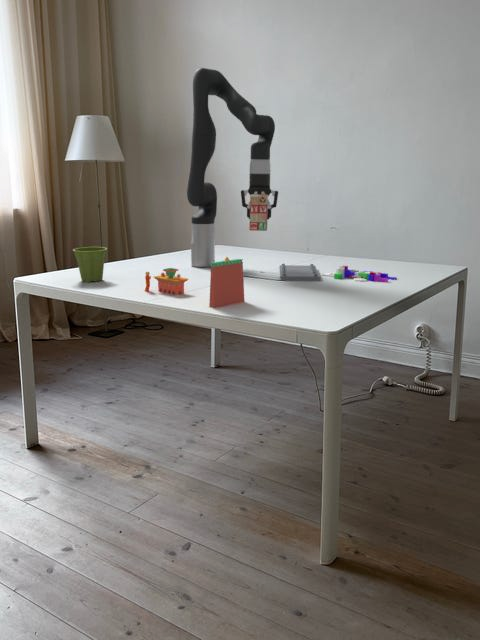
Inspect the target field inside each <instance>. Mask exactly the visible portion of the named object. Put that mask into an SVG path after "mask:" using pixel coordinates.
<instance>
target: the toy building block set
mask: <svg viewBox="0 0 480 640" xmlns="http://www.w3.org/2000/svg"><path fill="white" fill-rule="evenodd" d="M243 260H244V259H243V258H235V259H230V258H229V257H228V256H226V258H224V260H219V261H215V262H212V265H211V267H210V285H209V305H208V306H209V308H211V307H213V309H216V307H217V308H221V306H222V307H227V306H231V305H234V304H235V305H236V304H241V303H245V301H246V300H245V287H244V285H245V283H244V265H243V264H244V262H243ZM178 271H179V268H173V267H169V268H164V269H162V272H161V273H160V275H156V276H153V278H154V279H155V280H156V281H157V289H158V292H162V293H167V294H170V295H175V296H177V295H178V296H179V294H180V295H183V294H185V283H186V282H188V280H189V278H187V277H182V276H181V274H180V273H177V272H178ZM164 272H165V273H164ZM144 277H145V289H144V292H150V286H151V281H150V280H152V276H151V274H150V271H145V276H144ZM226 305H227V306H226Z"/></svg>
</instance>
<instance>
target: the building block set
mask: <svg viewBox="0 0 480 640" xmlns="http://www.w3.org/2000/svg"><path fill="white" fill-rule="evenodd" d="M321 277H329V278H333V279H334V280H340V279H353V280H354V281H355V282H359V283H361V282H367V281H369V282H379V283H388V282H389V279H391V280H390V281H395V280H397V278H398V277H396V276H395V277H394V276H389V273H385V272H379V271H377V272H376V271H368V270H366V271H365V270H364V271H359V270H356V269H349V266H348V265H341V266H339V267H338V268H336V273H335V272H325V273H322V274H321ZM394 279H395V280H394Z"/></svg>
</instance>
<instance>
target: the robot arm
mask: <svg viewBox="0 0 480 640" xmlns="http://www.w3.org/2000/svg"><path fill="white" fill-rule="evenodd" d="M209 96H215V97H218V98H219V99H221V100H223V101H224V103H225V104H226V108H227V109H228V111H229V112H230V113H231V115H233V117H235V118H236V120H237V119H238V120H239V122H240V123H241V124H242V126H243V127H244V129H245V130H246V132H248V134H251V135H252V136H253V135H254V136H258V139H257V141H256V142H253V143H252V144H251V146H250V162H249V185H248V186H249V187H248V189H246V190H245V189H244V190H243V189H242V190H241V191H240V196H241V206H242V207H243V208H245V209H246V217H247V218H248V220H250V201H249V202H248V204H247V203H246V196H247V195H248V194H249V196H250V195H251V194H261V195H268V197H269V196H270V195H271V194H272V197H274V198H273V203H272V204H271V202H270V201H269V199H268V212H267V220H270V218H272V209H273V208H276V207H277V204H278V197H279V191H278V190H274V189H273V190H272V189H271V146H272V143H273V140H274V135H275V129H276V123H275V121H274V118H273V117H272V116H270V115H267V114H266V115H264V114H257V109H256V107H255V106H254V105H253V104H252V103H251V102H249V101H248V100H247V99H245V97H243V96H242V95H241V94H240V93H239V92H238V91H236V89H235V88H234V86H233V85H232V84H231V83H230V82H229V80H228V79H227V78H226V76H224V75H223V73H222V72H220V71H219V70H216V69H211V68H205V67H200V68H198V69H196V71H195V72H194V75H193V79H192V100H193V101H192V102H193V114H192V116H193V119H192V121H193V122H192V133H191V135H192V136H191V154H190V155H191V156H190V166H189V168H190V169H189V175H188V182H187V189H186V197H187V201H188V203H189V204H190V206H192V207H198V210H197V212H196V213H195V214H193V215H192V216H191V243H190V249H191V250H190V253H191V255H190V256H191V258H190V259H191V260H190V261H191V262H190V263H191V264H190V265H191V267H196V268H209V267H210V268H211V265H212V262H216V260H215V259H216V258H215V257H216V256H215V253H216V250H215V249H216V248H215V247H216V246H215V245H216V244H215V233H216V232H215V219H216V217H217V209H218V208H217V206H218V204H217V203H218V194H217V193H218V192H217V188H216V186H215V185H214V184H213V183H211V182H205V177H206V170H207V168H208V166H209V163H210V162H211V160H212V158H213V156H214V154H215V150H216V144H217V143H216V142H217V129H216V126H215V123H214V121H213V118H212V116H211V113H210V110H209Z"/></svg>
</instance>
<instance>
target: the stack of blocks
mask: <svg viewBox="0 0 480 640" xmlns="http://www.w3.org/2000/svg"><path fill="white" fill-rule="evenodd" d="M268 200H269V196H268V195H261V194H251V195H250V194H249V202H250V219H249V231H253V232H254V231H256V232H257V231H258V232H259V231H261V232H262V231H265V232H266V231H267V230H268V219H267V212H268Z"/></svg>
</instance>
